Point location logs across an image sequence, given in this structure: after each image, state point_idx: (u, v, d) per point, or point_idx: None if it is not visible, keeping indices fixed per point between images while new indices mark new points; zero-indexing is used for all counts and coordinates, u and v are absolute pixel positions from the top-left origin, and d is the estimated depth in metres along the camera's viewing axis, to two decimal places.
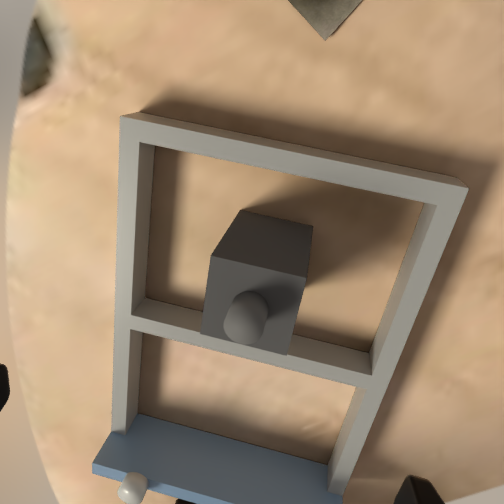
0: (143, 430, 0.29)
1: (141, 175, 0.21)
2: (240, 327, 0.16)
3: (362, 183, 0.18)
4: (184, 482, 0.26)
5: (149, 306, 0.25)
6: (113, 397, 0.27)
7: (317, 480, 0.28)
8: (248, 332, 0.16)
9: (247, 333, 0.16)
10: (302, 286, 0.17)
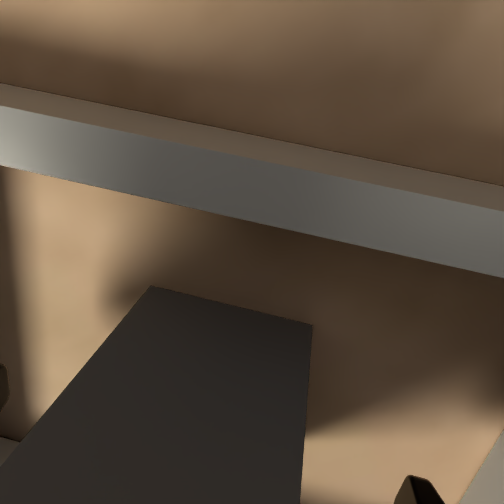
0: None
1: None
2: None
3: (457, 251, 0.06)
4: None
5: None
6: None
7: None
8: None
9: None
10: None
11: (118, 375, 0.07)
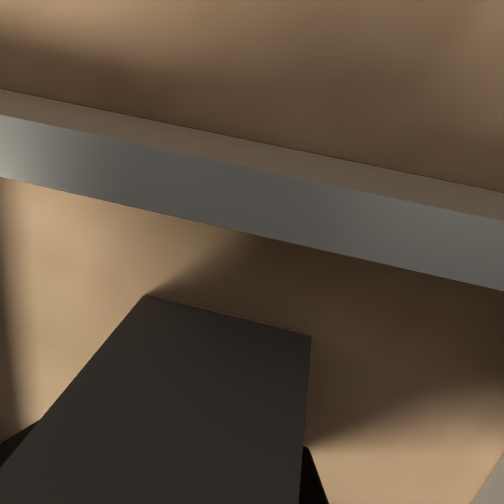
0: None
1: None
2: None
3: (464, 265, 0.06)
4: None
5: None
6: None
7: None
8: None
9: None
10: None
11: (105, 394, 0.07)
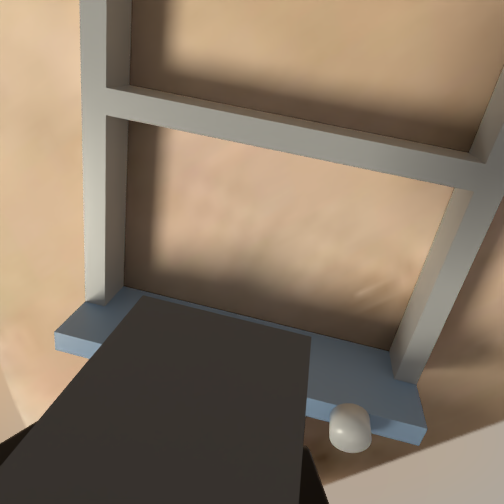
0: (130, 303, 0.21)
1: None
2: None
3: None
4: None
5: (135, 88, 0.17)
6: (85, 244, 0.19)
7: (378, 366, 0.19)
8: None
9: None
10: None
11: (104, 394, 0.07)
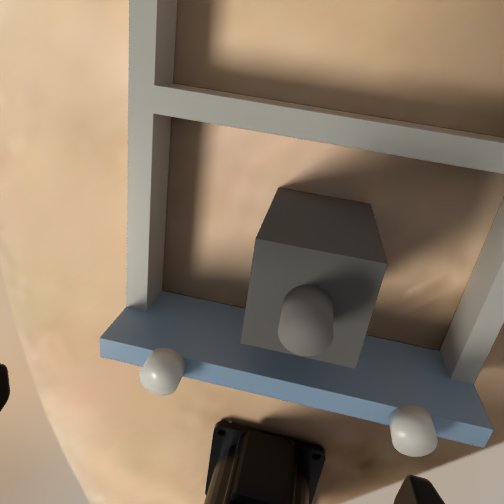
0: (172, 307, 0.20)
1: None
2: (301, 333, 0.12)
3: None
4: (239, 363, 0.17)
5: (181, 86, 0.16)
6: (128, 248, 0.18)
7: (431, 366, 0.19)
8: (312, 340, 0.12)
9: (310, 341, 0.12)
10: (380, 275, 0.12)
11: (286, 211, 0.15)
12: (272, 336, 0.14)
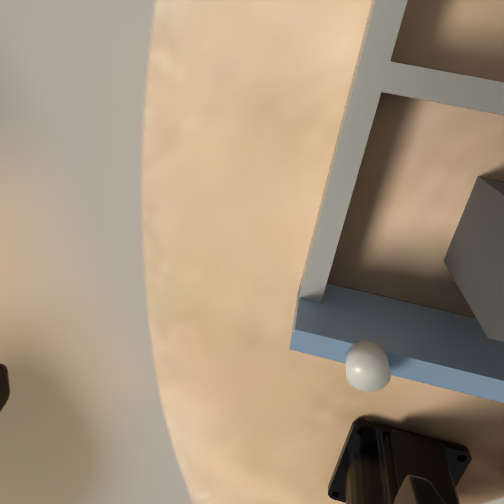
0: (342, 299, 0.19)
1: None
2: None
3: None
4: (443, 359, 0.16)
5: None
6: (315, 235, 0.17)
7: None
8: None
9: None
10: None
11: None
12: None
